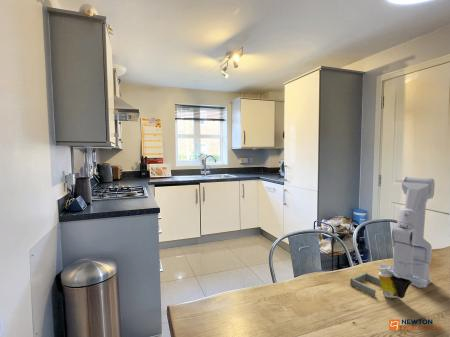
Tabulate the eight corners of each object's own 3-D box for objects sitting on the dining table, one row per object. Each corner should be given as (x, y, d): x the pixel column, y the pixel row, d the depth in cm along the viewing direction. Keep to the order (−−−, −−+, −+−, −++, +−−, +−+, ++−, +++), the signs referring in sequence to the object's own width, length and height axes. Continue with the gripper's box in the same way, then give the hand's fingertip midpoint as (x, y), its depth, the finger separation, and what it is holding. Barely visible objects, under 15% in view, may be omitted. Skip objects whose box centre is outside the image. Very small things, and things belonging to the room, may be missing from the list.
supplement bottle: (397, 299, 89) (389, 269, 91) (380, 296, 94) (373, 268, 96) (403, 294, 93) (396, 266, 94) (387, 292, 97) (380, 264, 99)
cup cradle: (365, 278, 108) (366, 272, 108) (389, 289, 99) (390, 283, 99) (350, 284, 103) (350, 278, 102) (374, 296, 94) (374, 290, 94)
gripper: (375, 255, 94) (374, 290, 95) (420, 271, 81) (418, 311, 82) (386, 251, 97) (385, 285, 98) (431, 266, 85) (429, 304, 86)
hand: (401, 296), depth 91 cm, fingers closed
